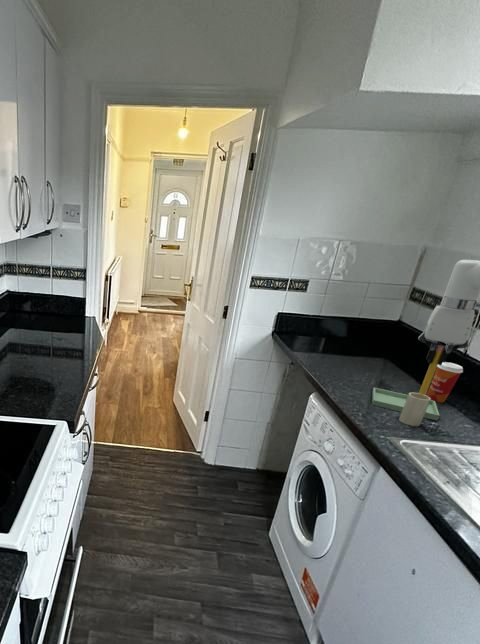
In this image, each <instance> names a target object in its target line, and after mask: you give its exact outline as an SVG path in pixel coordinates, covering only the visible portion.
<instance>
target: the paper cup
mask: <svg viewBox="0 0 480 644" xmlns="http://www.w3.org/2000/svg"><path fill="white" fill-rule="evenodd" d="M462 373H464V368H463V366H461V365H459V364H457V363H453V362H447V361H445V363H444V362H442V365H437V368H436V370H435V373H434V375H433V378H432V380H431V383H430V385H429V388H428V390H427V393H426V396H428V397H430V398H431V400H433V401H435V403H444V402H446V400H447V398H448V396H449V395H450V393H451V392H452V390H453V388H454V387H455V384H456V383H457V381H458V379H459V377H460V376H461V374H462Z"/></svg>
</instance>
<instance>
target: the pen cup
mask: <svg viewBox="0 0 480 644" xmlns="http://www.w3.org/2000/svg"><path fill="white" fill-rule="evenodd" d="M407 395H408V396H407V399H406V402H405V404H404V407H403V409H402V412H400V415H399V417H398V421H399V422H400V423H402V424H404V425H407V426H410V427H411V426H412V427H419V426H421V425H422V422H423V419H424V415H425V412H426V410H427V407H428V405H429V403H430V400H431V398H430V397H428V396H427V394H426V395H422V394H420V393H419V392H414V391H413V392H408V394H407Z"/></svg>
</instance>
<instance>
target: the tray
mask: <svg viewBox="0 0 480 644" xmlns="http://www.w3.org/2000/svg"><path fill="white" fill-rule="evenodd" d="M371 396H372V397H371V405H373V406H377V407H380V408H385V409H388V410H391V411H396V412H400V413H401V412H402V409H403V407H404V404H405V402H406V399H407V396H408V394H405V393H401V392H395V391H393V390H387V389H383V388H378V387H373V388H372V395H371ZM440 416H441V415H440V412H439V410H438V406H437V402H435V401H433V400H430V403H429V405H428V407H427V410H426V412H425V415H424V417H423V419H428V420H433V421H436V422H438V420H439V418H440Z"/></svg>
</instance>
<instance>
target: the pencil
mask: <svg viewBox="0 0 480 644" xmlns="http://www.w3.org/2000/svg"><path fill="white" fill-rule="evenodd" d="M444 349H445V346H444V345H440V344H437V345H436V350H435V351H436V353H435V356H434V359H433V361H432V363H431V364H430V363H429V365H428V369H427V371H426V372H425V373H426V374H425V376H424V379H423V381H422V384H421V386H420V389H419V392H418V393H420V394H422V395H426V396H427V393H428V391H429V388H430V385H431V382H432V380H433V377H434V374H435V372H436V369H437V365H438V362H439V360H440V357H441V355H442V352H443V350H444Z"/></svg>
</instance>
